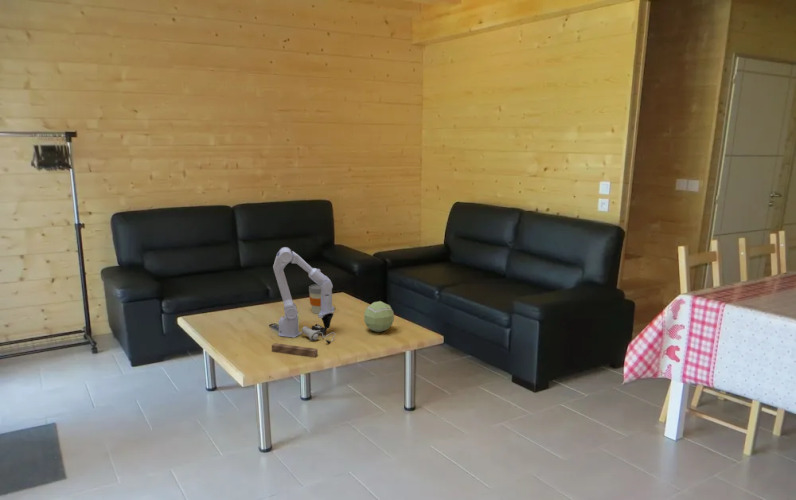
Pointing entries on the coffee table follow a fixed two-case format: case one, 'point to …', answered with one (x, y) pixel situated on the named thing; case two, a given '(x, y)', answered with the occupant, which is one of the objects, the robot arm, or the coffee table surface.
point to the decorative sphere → (378, 316)
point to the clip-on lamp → (316, 332)
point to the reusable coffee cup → (315, 298)
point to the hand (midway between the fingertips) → (326, 327)
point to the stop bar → (294, 350)
